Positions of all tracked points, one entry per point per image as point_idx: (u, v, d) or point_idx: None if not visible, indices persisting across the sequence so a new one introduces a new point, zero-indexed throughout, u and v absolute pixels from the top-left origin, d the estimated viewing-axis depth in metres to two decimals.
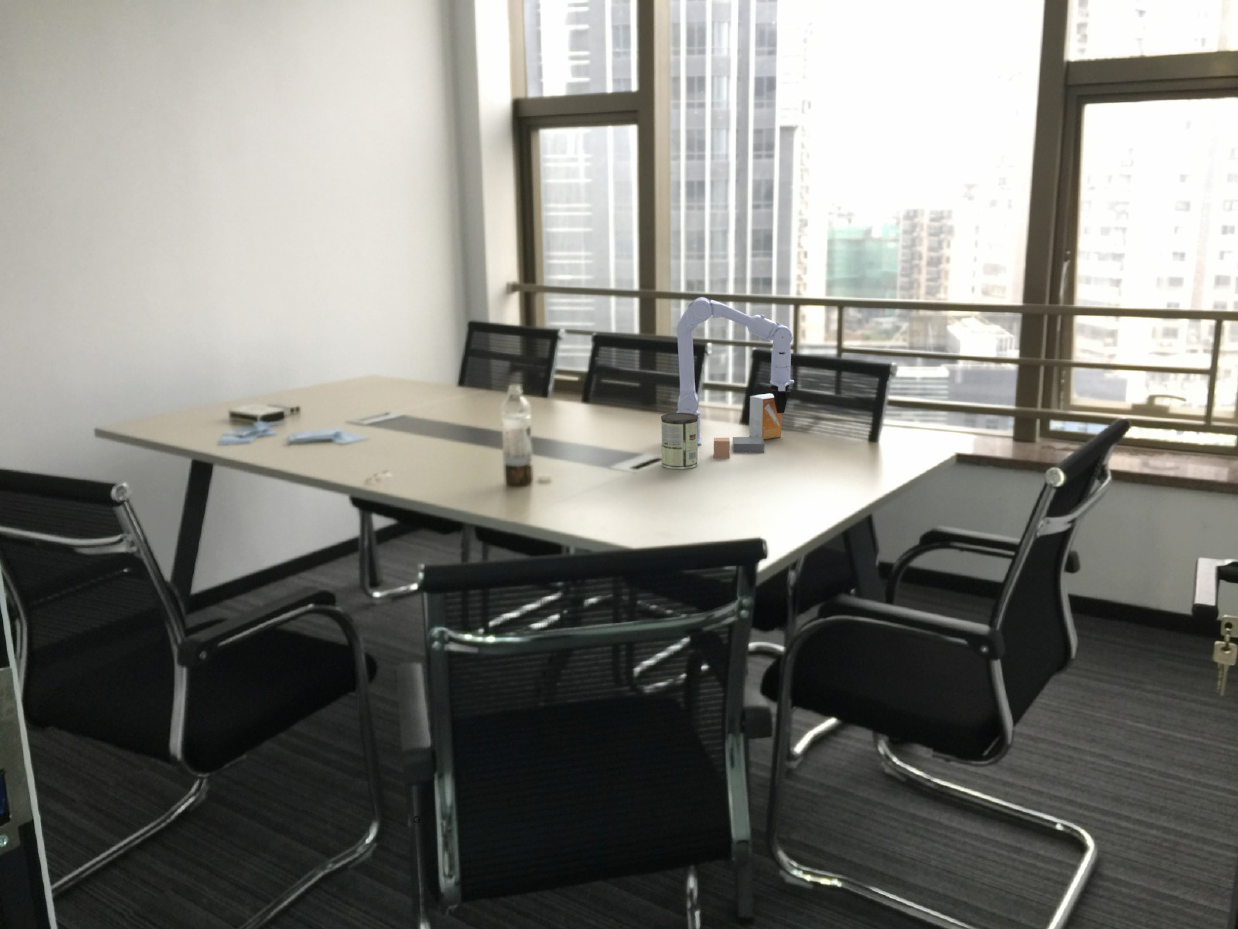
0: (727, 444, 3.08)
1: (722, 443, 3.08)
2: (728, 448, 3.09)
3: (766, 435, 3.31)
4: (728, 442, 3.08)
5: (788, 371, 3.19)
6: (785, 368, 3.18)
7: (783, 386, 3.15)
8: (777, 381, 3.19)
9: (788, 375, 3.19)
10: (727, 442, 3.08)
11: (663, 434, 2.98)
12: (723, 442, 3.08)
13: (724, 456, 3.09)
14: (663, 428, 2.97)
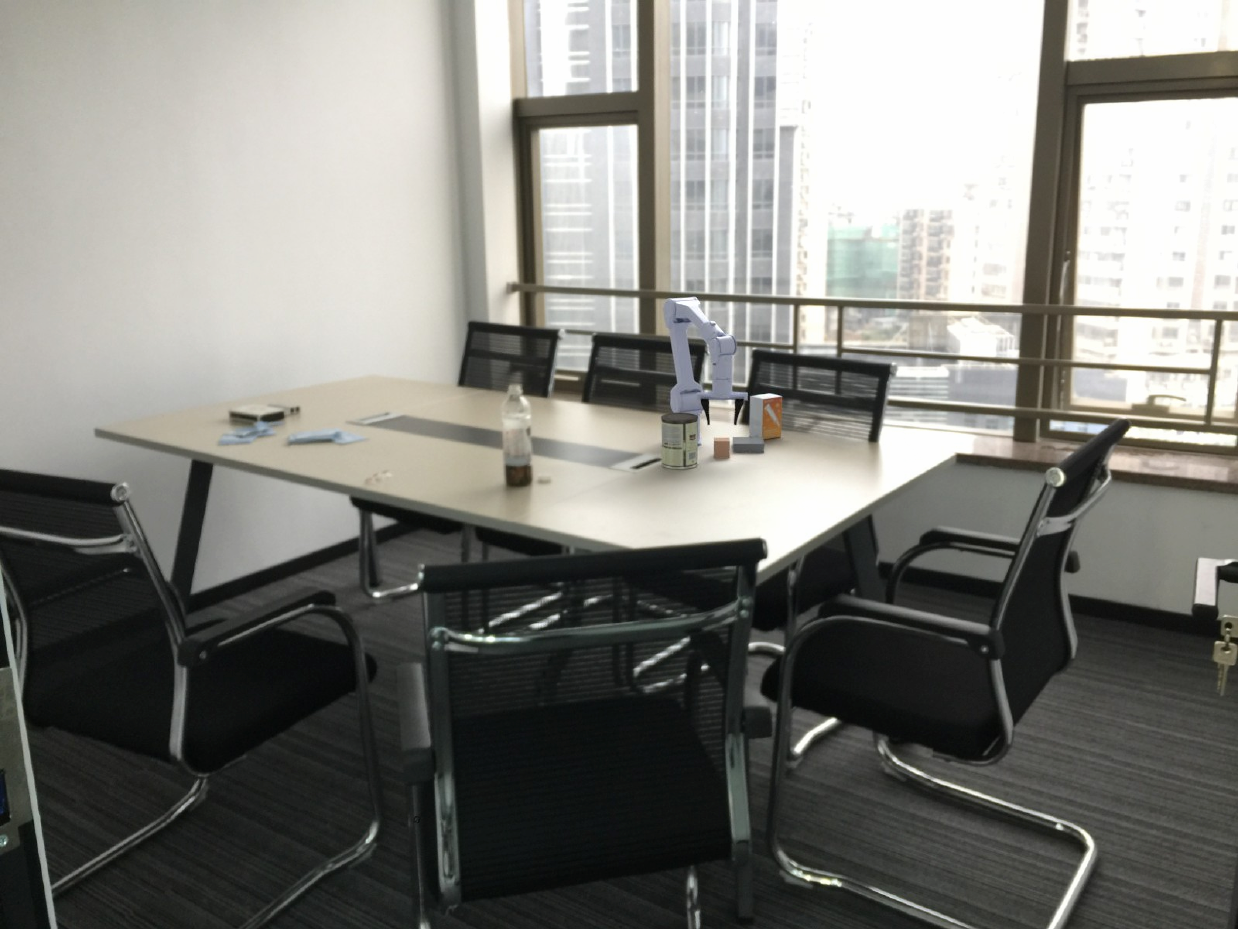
0: (727, 444, 3.08)
1: (722, 443, 3.08)
2: (728, 448, 3.09)
3: (766, 435, 3.31)
4: (728, 442, 3.08)
5: (716, 384, 3.04)
6: (713, 379, 3.05)
7: (696, 395, 3.07)
8: None
9: (716, 388, 3.05)
10: (727, 442, 3.08)
11: (663, 434, 2.98)
12: (723, 442, 3.08)
13: (724, 456, 3.09)
14: (663, 428, 2.97)
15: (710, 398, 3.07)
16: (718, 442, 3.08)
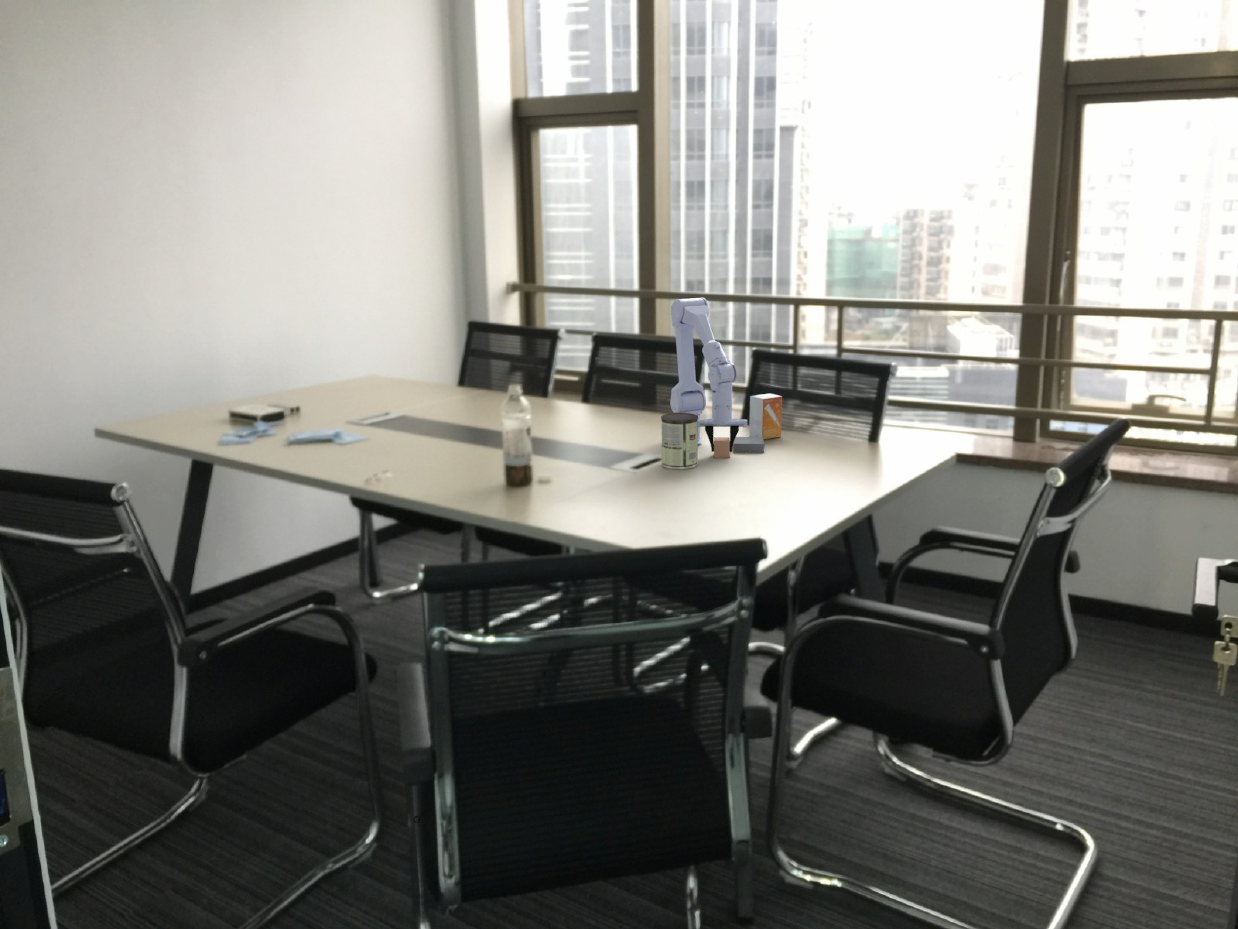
0: (727, 444, 3.08)
1: (722, 443, 3.08)
2: (728, 448, 3.09)
3: (766, 435, 3.31)
4: (728, 442, 3.08)
5: (715, 411, 3.06)
6: (713, 407, 3.07)
7: None
8: None
9: (716, 415, 3.07)
10: (727, 442, 3.08)
11: (663, 434, 2.98)
12: (723, 442, 3.08)
13: (724, 456, 3.09)
14: (663, 428, 2.97)
15: (710, 425, 3.09)
16: (718, 442, 3.08)
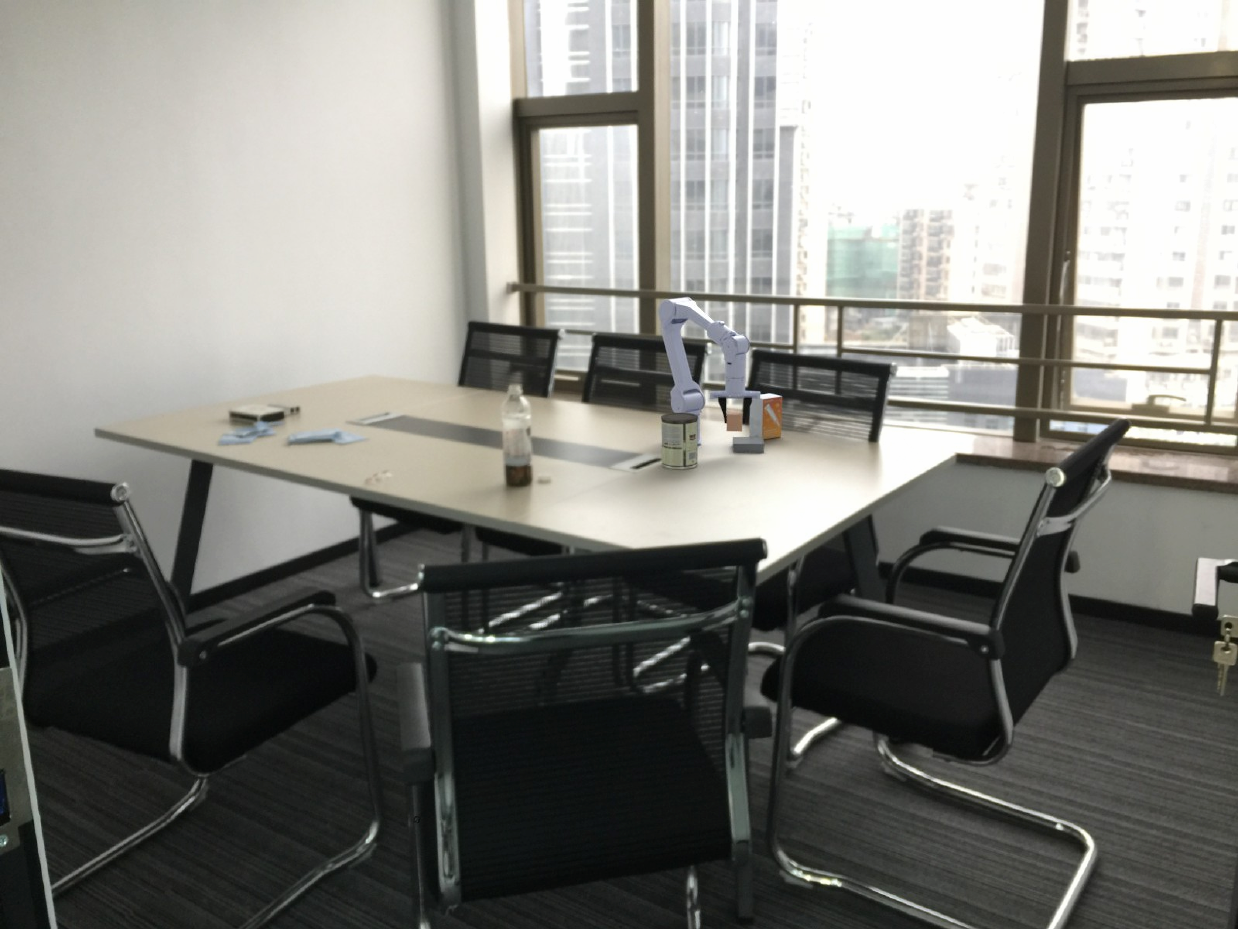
0: (740, 417, 3.10)
1: (735, 416, 3.10)
2: (741, 421, 3.10)
3: (766, 435, 3.31)
4: (741, 416, 3.10)
5: (729, 383, 3.08)
6: (726, 378, 3.09)
7: (710, 393, 3.11)
8: None
9: (729, 387, 3.09)
10: (740, 415, 3.10)
11: (663, 434, 2.98)
12: (736, 415, 3.10)
13: (737, 429, 3.11)
14: (663, 428, 2.97)
15: (723, 397, 3.11)
16: (731, 415, 3.10)
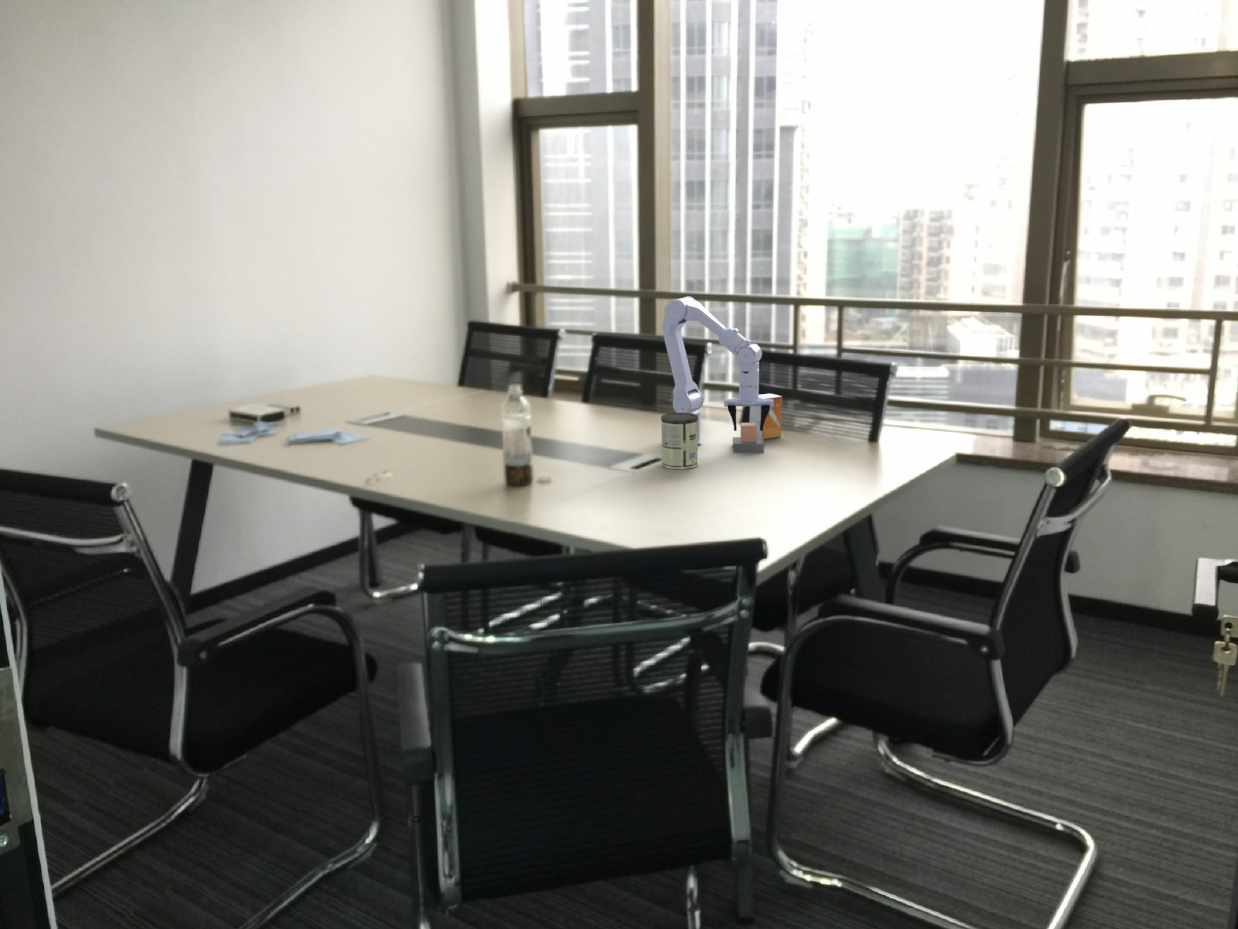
0: (754, 429, 3.15)
1: (749, 428, 3.16)
2: (755, 433, 3.16)
3: (766, 435, 3.31)
4: (755, 427, 3.15)
5: (743, 391, 3.13)
6: (740, 387, 3.14)
7: (724, 401, 3.16)
8: None
9: (743, 395, 3.14)
10: (754, 427, 3.15)
11: (663, 434, 2.98)
12: (750, 427, 3.15)
13: (751, 440, 3.16)
14: (663, 428, 2.97)
15: (737, 405, 3.16)
16: (745, 427, 3.16)
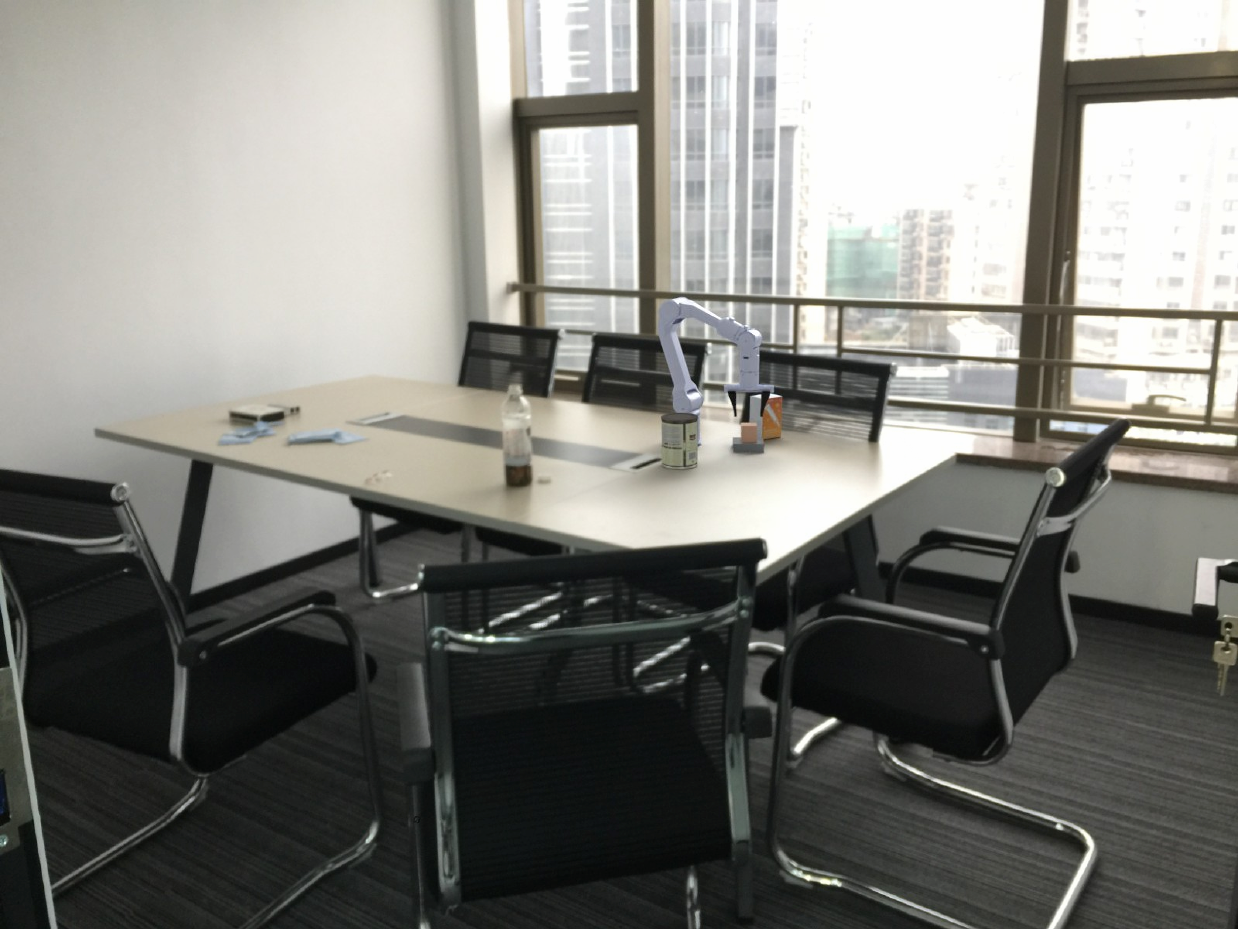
0: (754, 429, 3.16)
1: (750, 428, 3.16)
2: (755, 433, 3.16)
3: (766, 435, 3.31)
4: (755, 427, 3.16)
5: (743, 376, 3.12)
6: (740, 372, 3.13)
7: (724, 387, 3.15)
8: None
9: (743, 380, 3.13)
10: (754, 427, 3.16)
11: (663, 434, 2.98)
12: (751, 427, 3.16)
13: (751, 440, 3.17)
14: (663, 428, 2.97)
15: (737, 390, 3.15)
16: (746, 427, 3.16)
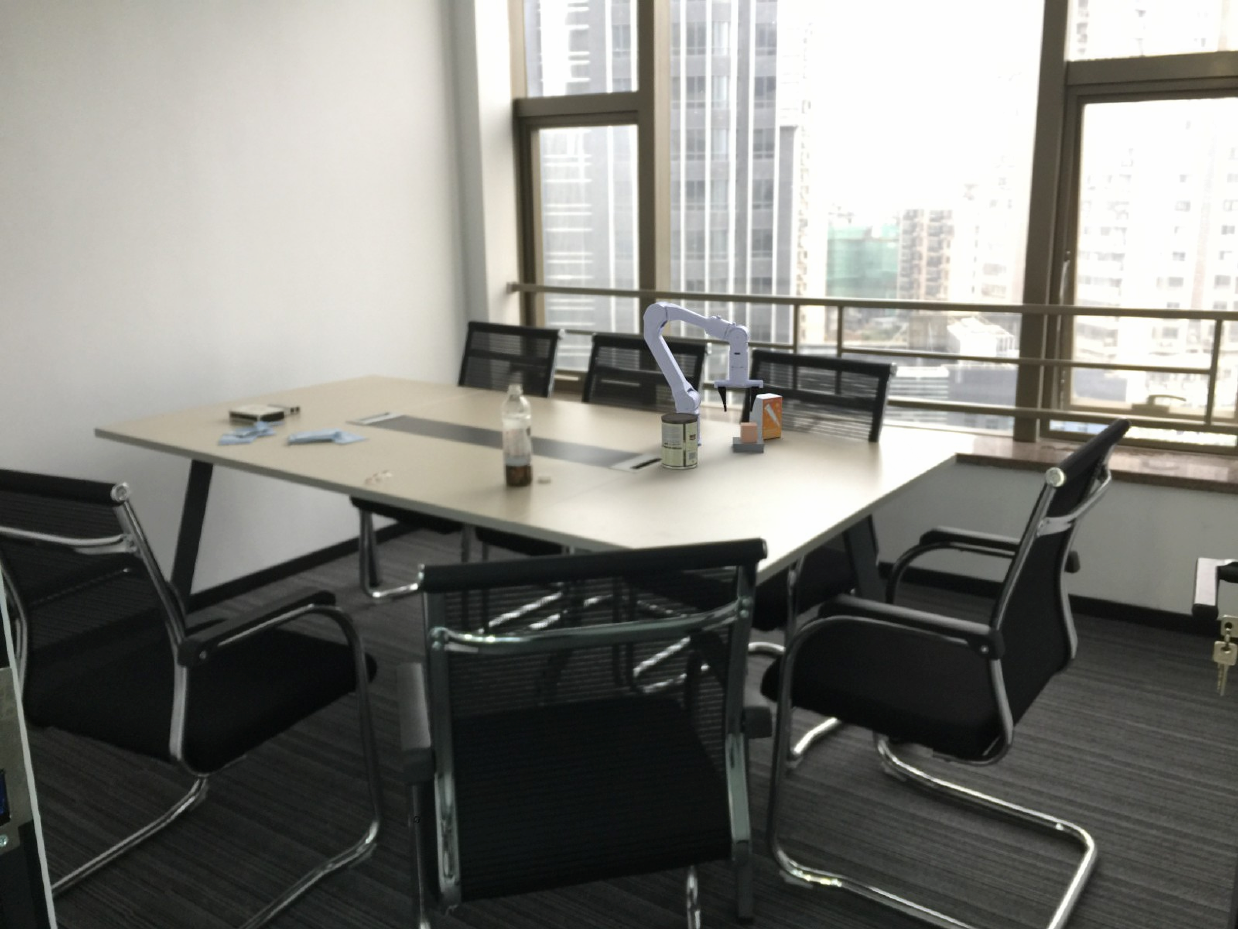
0: (755, 428, 3.16)
1: (750, 428, 3.16)
2: (756, 432, 3.16)
3: (766, 435, 3.31)
4: (756, 426, 3.16)
5: (732, 372, 3.17)
6: (730, 368, 3.18)
7: (714, 383, 3.20)
8: None
9: (732, 376, 3.17)
10: (755, 427, 3.16)
11: (663, 434, 2.98)
12: (751, 427, 3.16)
13: (752, 440, 3.17)
14: (663, 428, 2.97)
15: (727, 386, 3.20)
16: (746, 427, 3.16)
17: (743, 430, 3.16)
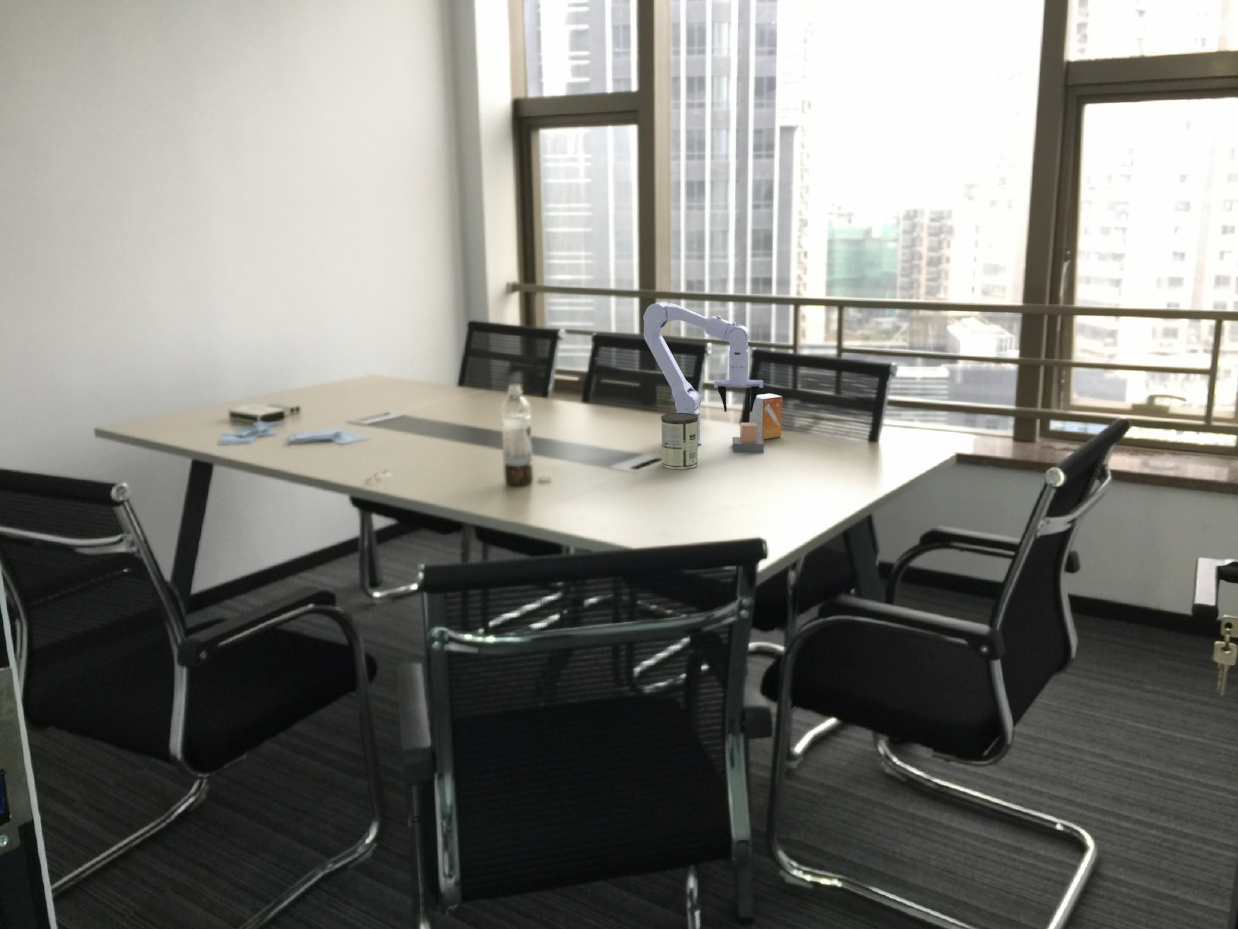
0: (755, 428, 3.16)
1: (750, 428, 3.16)
2: (756, 432, 3.16)
3: (766, 435, 3.31)
4: (756, 427, 3.16)
5: (732, 372, 3.17)
6: (730, 368, 3.18)
7: (714, 383, 3.20)
8: None
9: (732, 376, 3.17)
10: (755, 427, 3.16)
11: (663, 434, 2.98)
12: (751, 427, 3.16)
13: (752, 440, 3.17)
14: (663, 428, 2.97)
15: (727, 386, 3.20)
16: (746, 427, 3.16)
17: (743, 430, 3.16)
